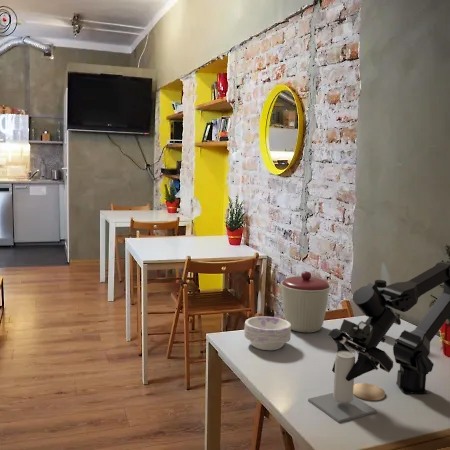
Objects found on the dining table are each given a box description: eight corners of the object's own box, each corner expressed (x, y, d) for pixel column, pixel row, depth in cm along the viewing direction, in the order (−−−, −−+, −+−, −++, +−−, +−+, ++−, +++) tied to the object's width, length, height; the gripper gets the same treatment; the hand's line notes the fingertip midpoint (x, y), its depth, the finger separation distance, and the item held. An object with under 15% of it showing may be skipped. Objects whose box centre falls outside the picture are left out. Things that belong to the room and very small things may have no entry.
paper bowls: (279, 336, 183) (280, 313, 182) (297, 352, 169) (298, 328, 167) (238, 338, 179) (238, 316, 178) (252, 356, 164) (253, 331, 163)
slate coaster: (344, 392, 141) (344, 390, 141) (376, 412, 131) (376, 410, 131) (308, 400, 136) (308, 398, 136) (338, 422, 125) (338, 420, 125)
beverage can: (338, 393, 136) (341, 349, 135) (356, 399, 133) (358, 354, 132) (329, 399, 133) (332, 354, 131) (347, 406, 130) (350, 359, 128)
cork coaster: (379, 385, 146) (379, 383, 146) (389, 400, 137) (389, 398, 137) (346, 384, 146) (346, 382, 146) (355, 400, 137) (355, 398, 137)
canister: (339, 331, 189) (343, 274, 186) (301, 340, 179) (304, 279, 176) (305, 317, 204) (308, 264, 201) (268, 324, 194) (270, 268, 191)
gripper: (335, 298, 140) (300, 345, 136) (387, 319, 123) (348, 372, 120) (357, 323, 145) (323, 368, 141) (409, 346, 128) (372, 398, 125)
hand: (340, 375), depth 132 cm, fingers closed on beverage can, 5 cm apart
